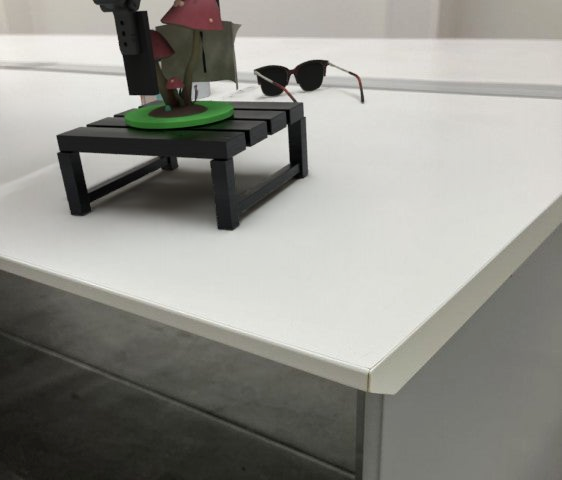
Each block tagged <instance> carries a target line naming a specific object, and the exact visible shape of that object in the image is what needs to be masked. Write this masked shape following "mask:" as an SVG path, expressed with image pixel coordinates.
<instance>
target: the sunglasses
mask: <svg viewBox="0 0 562 480" xmlns="http://www.w3.org/2000/svg"><path fill="white" fill-rule="evenodd" d="M328 66H330V67H333V68H336V69H337V70H340V71H342V72H345V73H346V74H349V75H351V76H353V77H354V78H356V80H357V82H358V86H359V92H360V103H361V104H363V103H364V102H365V95H364V90H363V83H362V80H361V77H360V76H359V75H358V74H357V73H355V72H352V71H350V70H347V69H345V68H343V67H341V66H338V65H336V64H334V63H333V62H330V61H329V60H327V59H309V60H306V61H304V62H301V63H299V64H297V65H296V66H295V67H294V68H293V69H290V68H288V67H287V66H284V65H279V64H268V65H264V66H260V67H257V68H255V69H253V75H255V76H256V80H257V85H258V86H260V90H261V92H262V94H263V95H264V96H266V97H271V98H274V97H279V96H281V95H282V94H283V93H285V94H286V95H287V97H289V98H290V100H291V102H298V100H297V99H296V98H295V97H294V96H293V95H292V93H290V91H289V90H288V89H287V88H286V87H287V86H289V83H290V79H291V76H292V75H293V76H294V79H295V82H296V84H297V85H298V86H299V87H300V89H301V90H302V91H303V92H306V93H310V92H314V91H317V90H319V89H320V88H321V87H322V85H323V82H324V77H326V76H327V68H328Z"/></svg>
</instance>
